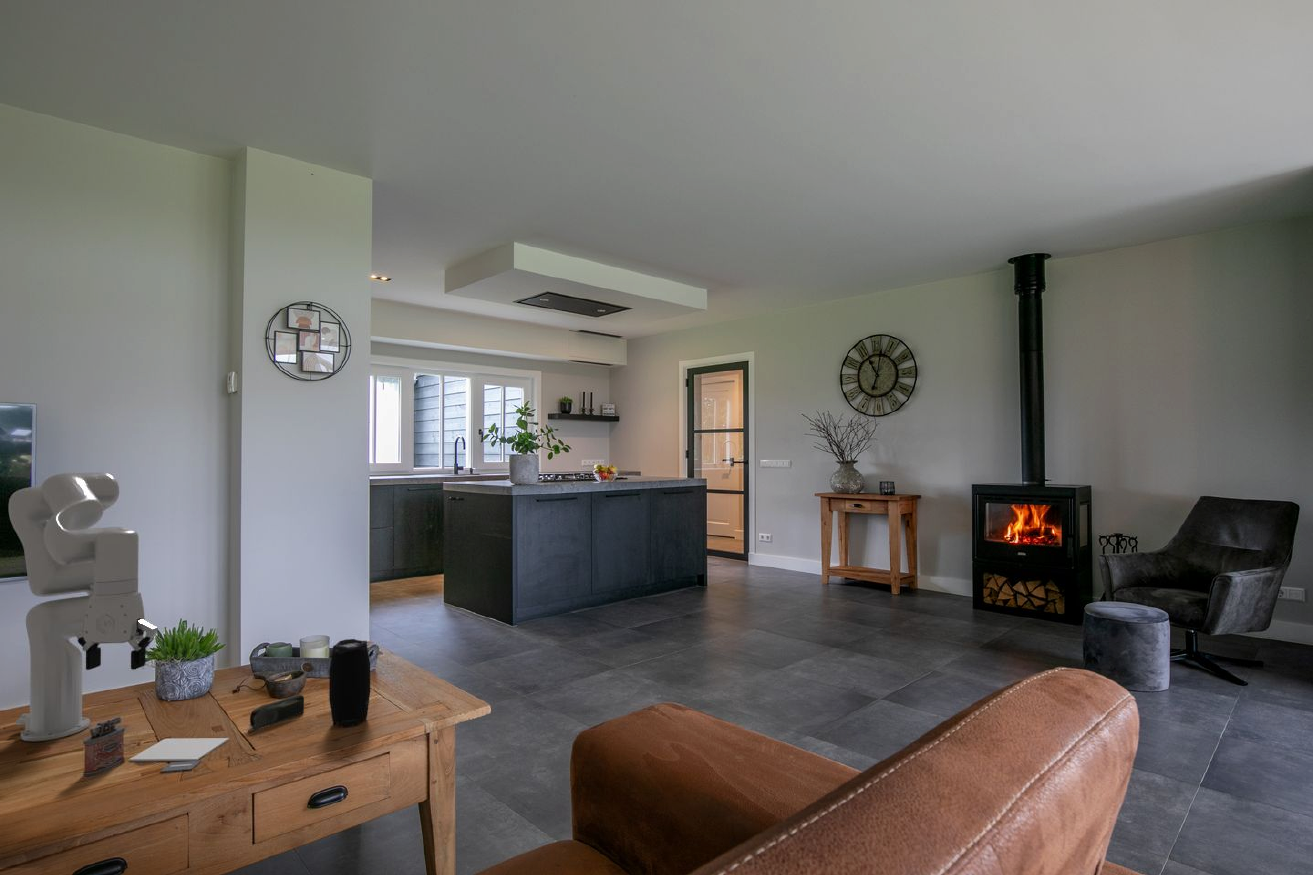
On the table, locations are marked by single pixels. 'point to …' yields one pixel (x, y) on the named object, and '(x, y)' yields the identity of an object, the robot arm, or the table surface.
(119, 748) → the lighter
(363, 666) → the portable speaker
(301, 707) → the dark elongated piece
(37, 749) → the table surface
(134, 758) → the paper
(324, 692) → the table surface
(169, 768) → the plate
